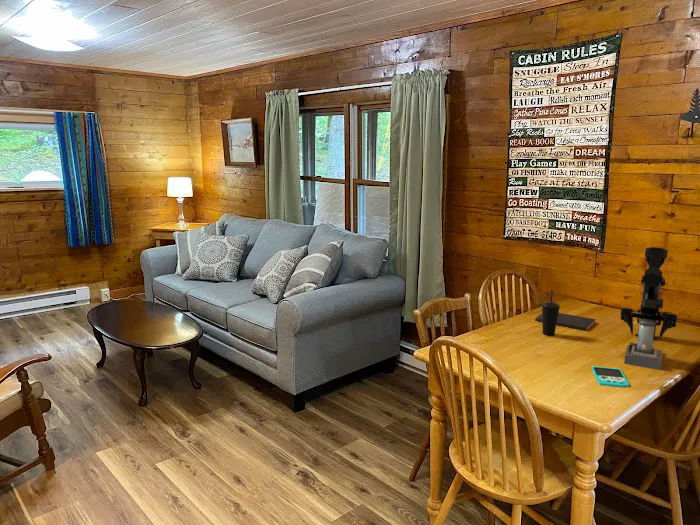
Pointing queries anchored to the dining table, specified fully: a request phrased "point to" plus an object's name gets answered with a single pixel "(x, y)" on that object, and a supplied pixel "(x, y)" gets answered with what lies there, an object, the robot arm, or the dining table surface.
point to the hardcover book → (571, 321)
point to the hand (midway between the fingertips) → (645, 336)
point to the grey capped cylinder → (645, 336)
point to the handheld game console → (610, 377)
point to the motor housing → (643, 357)
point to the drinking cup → (549, 316)
